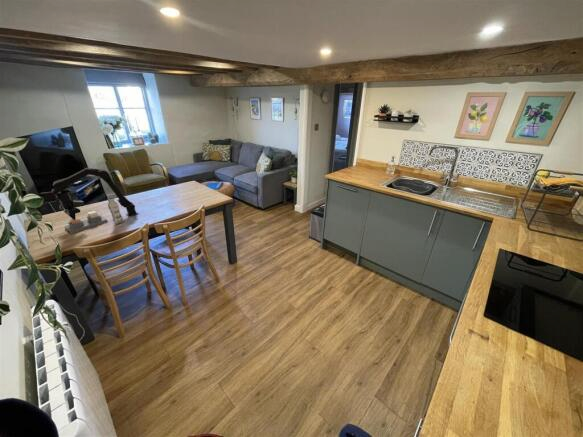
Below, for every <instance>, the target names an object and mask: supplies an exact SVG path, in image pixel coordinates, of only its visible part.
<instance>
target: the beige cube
mask: <svg viewBox="0 0 583 437" xmlns="http://www.w3.org/2000/svg"><path fill="white" fill-rule="evenodd" d="M98 215H99V214H98V212H97V211H95V210H92V211H89V212H87V217H88V216H89V217H90V218H94V217H98Z"/></svg>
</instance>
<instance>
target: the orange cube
mask: <svg viewBox="0 0 583 437" xmlns="http://www.w3.org/2000/svg"><path fill="white" fill-rule="evenodd" d="M75 218H76V219H75V220H73V219H72V218H71V219H69V222H71V224H75V223H78V222H80V220H81V219H80V218H78V217H75Z"/></svg>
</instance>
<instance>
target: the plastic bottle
mask: <svg viewBox="0 0 583 437" xmlns="http://www.w3.org/2000/svg"><path fill="white" fill-rule="evenodd" d="M107 202H108V203H107V208H108V209H109V211H110V213H111V218H112V222H113V223H114V224H115V225H118V224H122V223H123V222H124V218H123V216H122V214H121V210H120V207H119V202H118V201H117V202H116V201H115V198H114V197H108V198H107Z"/></svg>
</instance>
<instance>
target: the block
mask: <svg viewBox="0 0 583 437" xmlns="http://www.w3.org/2000/svg"><path fill="white" fill-rule="evenodd" d="M86 218H87V219H83V220H82V219H80V222H78V223H75V224H71V222H70V221H69V222H68V225H67V224H66V225H65V226H64V229H65V230H67V231H68V232H69V233H70V234H75V233H78V232H81V231H83V230H87V229H90V228H93V227H96V226H98V225H99V226H100V225H102V224H104V223H108V222H109V221H108V219H107V218H105V216H104V217H103V216H102V215H100V214H98V217H94V218H90V217H89V216H88V215H87V216H86Z"/></svg>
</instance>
